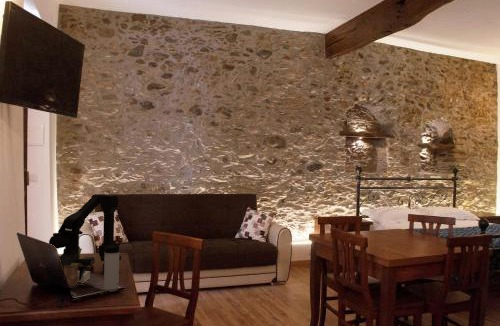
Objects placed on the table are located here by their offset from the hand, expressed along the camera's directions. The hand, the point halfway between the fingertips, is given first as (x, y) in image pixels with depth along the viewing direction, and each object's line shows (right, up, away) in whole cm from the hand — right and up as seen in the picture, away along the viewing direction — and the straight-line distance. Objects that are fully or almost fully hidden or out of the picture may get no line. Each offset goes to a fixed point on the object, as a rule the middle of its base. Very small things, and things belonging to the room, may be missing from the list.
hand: (71, 280), depth 186 cm
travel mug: (+19, -4, -3) cm, 19 cm away
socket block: (0, -3, +8) cm, 9 cm away
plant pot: (-16, -3, +38) cm, 41 cm away
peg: (0, -3, 0) cm, 3 cm away
